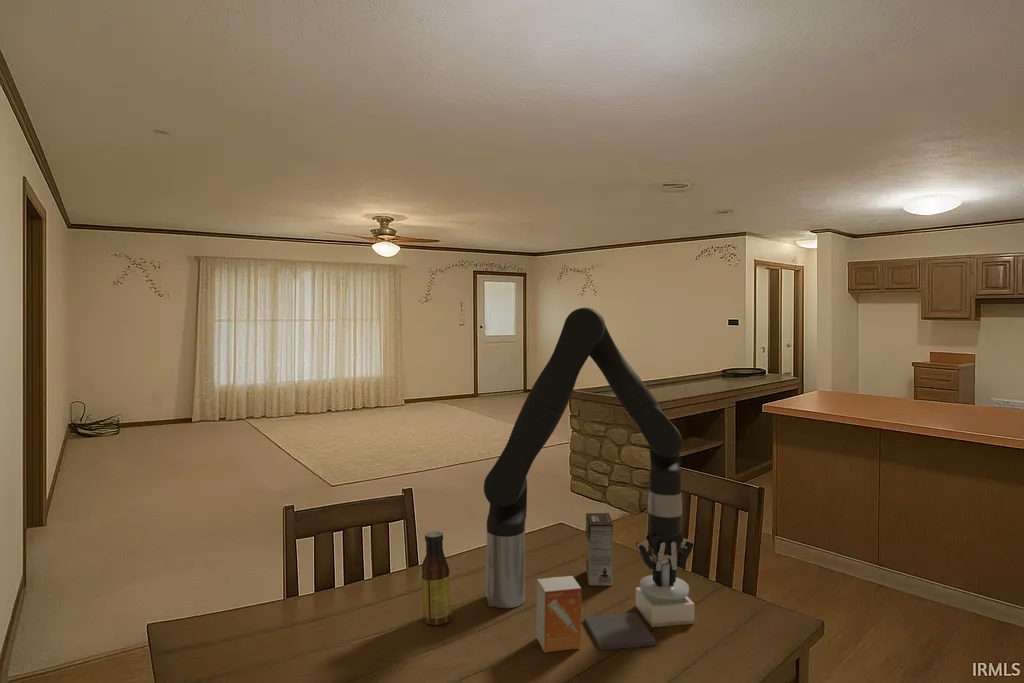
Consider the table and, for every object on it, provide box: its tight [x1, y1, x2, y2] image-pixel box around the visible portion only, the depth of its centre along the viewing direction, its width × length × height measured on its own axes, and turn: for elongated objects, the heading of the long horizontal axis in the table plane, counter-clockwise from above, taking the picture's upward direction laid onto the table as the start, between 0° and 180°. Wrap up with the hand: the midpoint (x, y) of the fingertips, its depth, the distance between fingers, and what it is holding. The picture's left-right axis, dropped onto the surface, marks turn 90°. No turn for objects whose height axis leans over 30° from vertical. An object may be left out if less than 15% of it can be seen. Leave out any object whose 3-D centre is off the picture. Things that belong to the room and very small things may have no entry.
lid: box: [639, 560, 690, 600], centre depth 139 cm, size 11×11×6 cm
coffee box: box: [585, 512, 614, 586], centre depth 158 cm, size 9×6×16 cm
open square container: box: [635, 586, 695, 628], centre depth 139 cm, size 10×10×4 cm
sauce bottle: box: [421, 530, 452, 626], centre depth 136 cm, size 7×6×20 cm
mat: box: [584, 612, 657, 651], centre depth 131 cm, size 12×12×1 cm
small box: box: [536, 575, 582, 654], centre depth 127 cm, size 8×6×13 cm
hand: (664, 584), depth 139 cm, fingers closed on lid, 2 cm apart
